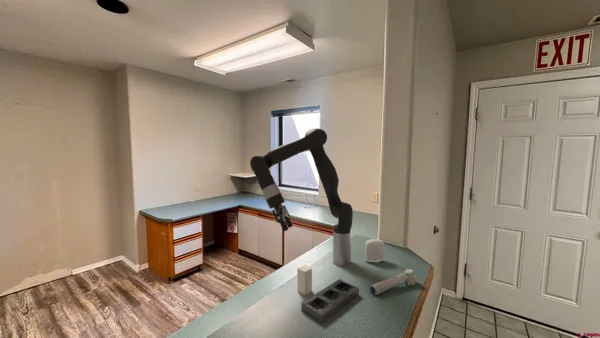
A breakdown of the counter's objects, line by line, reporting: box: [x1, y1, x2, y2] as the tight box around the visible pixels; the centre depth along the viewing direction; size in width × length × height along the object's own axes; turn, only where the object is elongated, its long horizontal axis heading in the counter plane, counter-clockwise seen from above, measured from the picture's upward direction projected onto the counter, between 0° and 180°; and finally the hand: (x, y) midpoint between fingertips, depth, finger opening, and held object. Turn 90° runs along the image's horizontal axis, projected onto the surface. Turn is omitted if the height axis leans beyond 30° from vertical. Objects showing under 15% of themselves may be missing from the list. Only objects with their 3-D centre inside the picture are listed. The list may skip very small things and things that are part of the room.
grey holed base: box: [300, 278, 360, 324], centre depth 93 cm, size 24×10×3 cm, turn 135°
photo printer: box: [364, 238, 385, 263], centre depth 129 cm, size 10×4×12 cm, turn 98°
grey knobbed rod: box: [368, 268, 418, 297], centre depth 104 cm, size 5×7×25 cm
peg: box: [296, 264, 313, 296], centre depth 101 cm, size 4×4×10 cm
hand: (288, 228), depth 105 cm, fingers open, 8 cm apart
